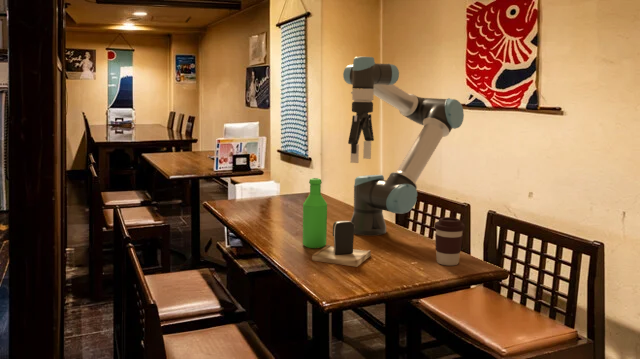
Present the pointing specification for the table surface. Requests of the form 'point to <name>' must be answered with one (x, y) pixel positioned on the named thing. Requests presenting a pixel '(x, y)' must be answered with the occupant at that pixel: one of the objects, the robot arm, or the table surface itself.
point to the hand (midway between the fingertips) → (360, 160)
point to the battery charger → (343, 237)
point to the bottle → (315, 217)
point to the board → (341, 256)
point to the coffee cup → (448, 240)
